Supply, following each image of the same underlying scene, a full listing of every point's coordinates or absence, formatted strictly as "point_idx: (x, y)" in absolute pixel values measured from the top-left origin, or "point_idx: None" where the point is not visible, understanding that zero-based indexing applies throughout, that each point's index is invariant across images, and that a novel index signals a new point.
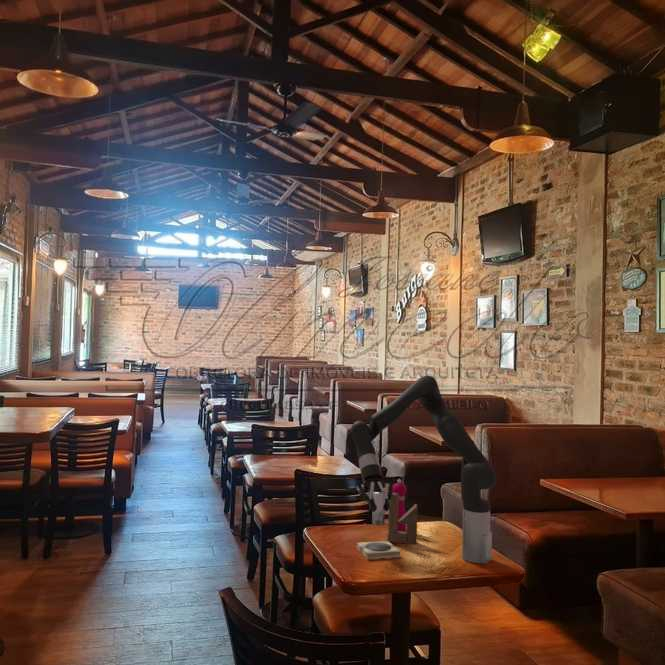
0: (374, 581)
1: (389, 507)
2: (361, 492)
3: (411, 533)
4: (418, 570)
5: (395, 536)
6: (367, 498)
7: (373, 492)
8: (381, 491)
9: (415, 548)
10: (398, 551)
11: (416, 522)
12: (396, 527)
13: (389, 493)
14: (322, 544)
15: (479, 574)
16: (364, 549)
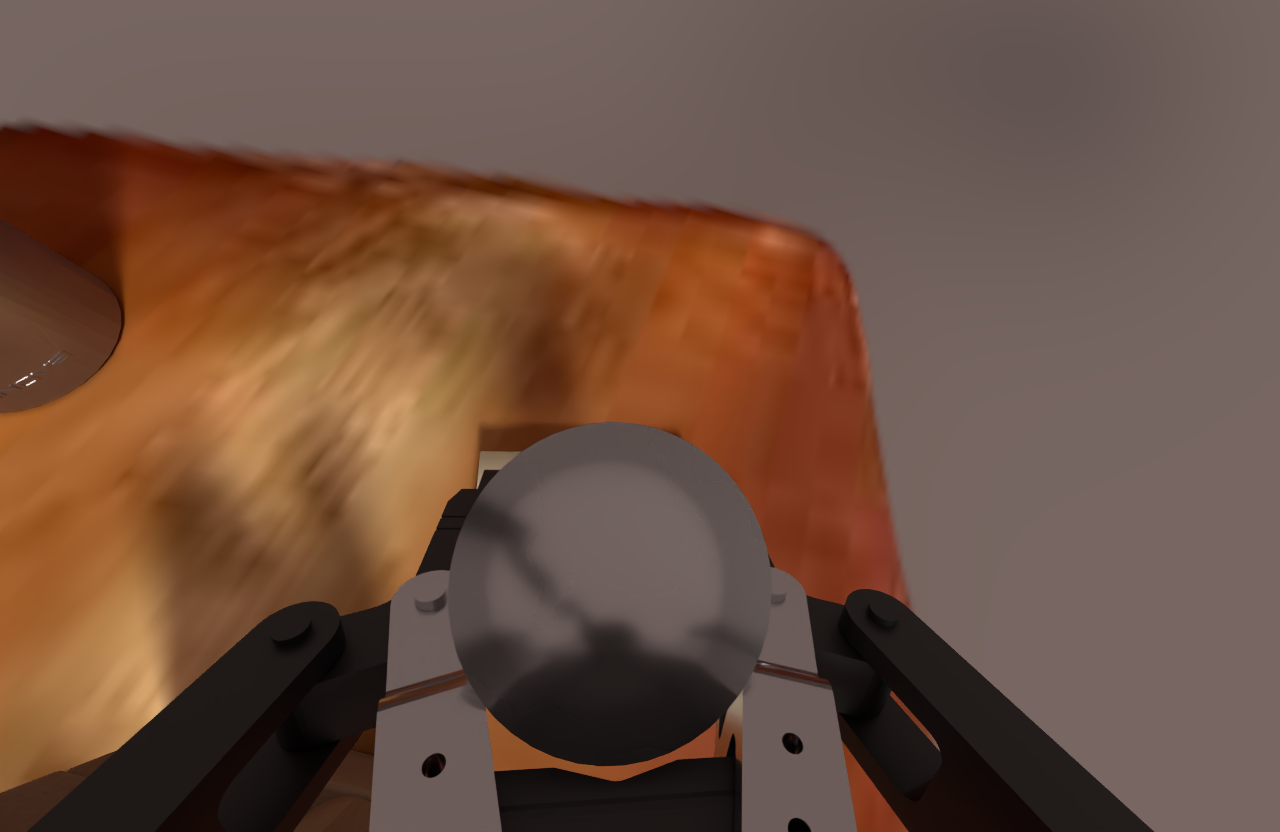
0: (728, 218)
1: (463, 489)
2: (1020, 724)
3: None
4: (481, 273)
5: (353, 775)
6: (825, 614)
7: (769, 563)
8: (524, 644)
9: None
10: (490, 456)
11: (38, 781)
12: (298, 824)
13: (282, 681)
14: None
15: (207, 164)
16: None
